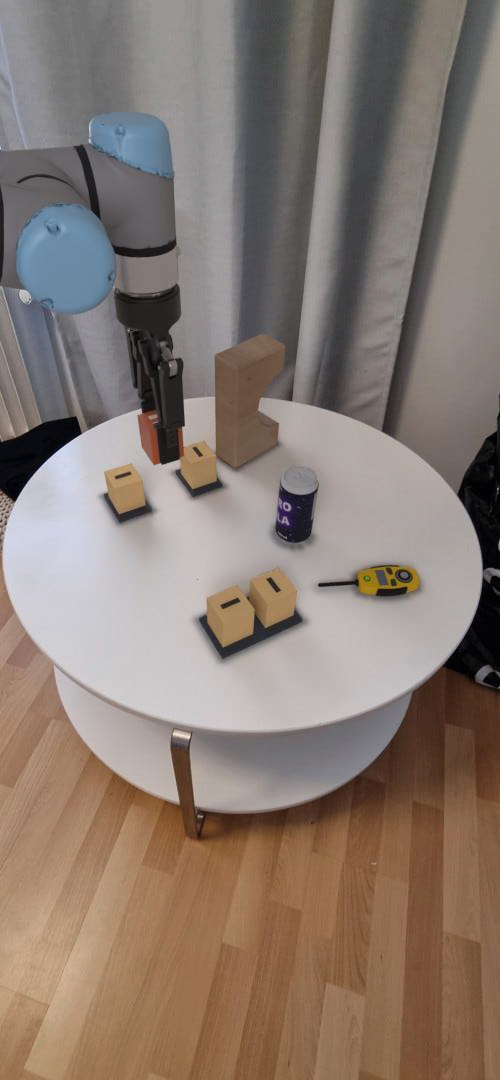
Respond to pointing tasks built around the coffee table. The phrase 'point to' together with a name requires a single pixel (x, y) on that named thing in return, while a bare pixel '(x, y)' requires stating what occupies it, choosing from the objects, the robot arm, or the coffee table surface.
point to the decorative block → (245, 398)
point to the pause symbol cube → (153, 436)
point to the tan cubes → (193, 473)
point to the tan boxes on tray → (250, 613)
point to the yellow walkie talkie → (383, 581)
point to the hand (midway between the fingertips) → (162, 449)
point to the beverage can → (296, 503)
